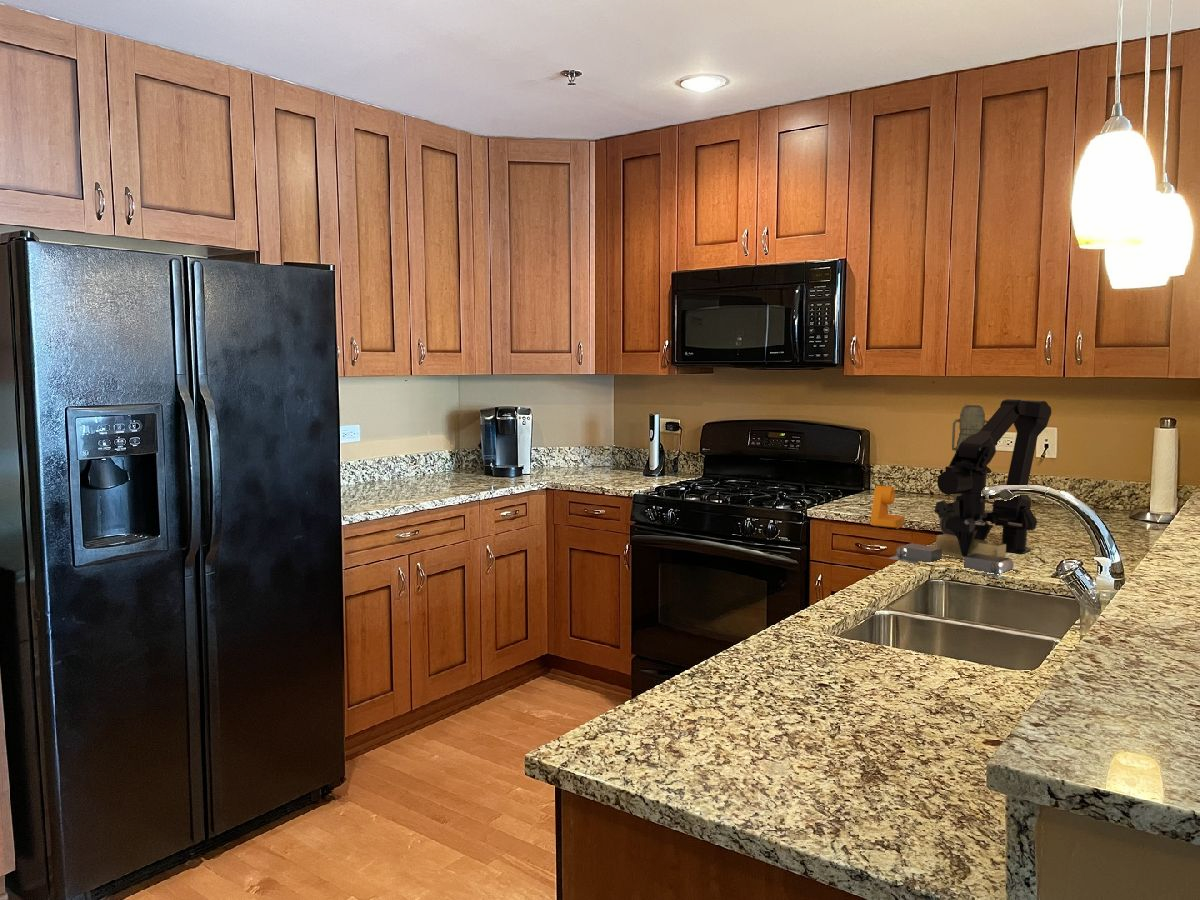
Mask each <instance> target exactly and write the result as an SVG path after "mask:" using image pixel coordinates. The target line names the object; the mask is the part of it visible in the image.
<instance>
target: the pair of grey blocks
mask: <svg viewBox="0 0 1200 900" xmlns="http://www.w3.org/2000/svg"><path fill="white" fill-rule="evenodd" d="M895 554H896V555H893V556H890V557H888V559H889V560H896V561H902V560H904V561H902V562H907V563H912V562H913V564H918V563H917V562H918V561H922V562H934V561H937V560H940V559H942V558H943V555H942V548H939V547H936V546H931V545H925V544H919V543H908V544H904V545H900V546H898V547H897V548H896V550H895ZM963 561H964V568H970V569H975V570H978V571H984V572H989V573H994V574H987V573H977V574H979V575H983V576H991V577H996V578H1003V579H1006V578H1007V577H1004V576H999V575H1000V574H1002V573H1005V572H1007V571H1010V570H1013V571H1018V573H1020V572H1021V570H1019V569H1013V568H1014V566H1015V565H1014V564H1015V563H1014V562H1013V560H1012V559H1011V558H1010V557H1009V558H1008V557H1005V558H1004V557H997V556H991V555H984V554H978V553H974V554H971V555H968V556H965V558H964V559H963ZM1019 571H1020V572H1019ZM961 572H964V571H963V570H962V571H961ZM973 574H975V573H974V572H973ZM997 574H999V575H997Z"/></svg>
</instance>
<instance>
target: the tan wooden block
mask: <svg viewBox="0 0 1200 900" xmlns="http://www.w3.org/2000/svg"><path fill="white" fill-rule="evenodd" d="M935 544H936V545H935V547H939V548H942V554H943V555H949V556H954V557H959V558H965V556H962V553H961V550H960V546H959V542H958V539H957V536H955V535H949V534H943V533H942V534H938V535H936V543H935ZM974 553H978V554H984V555H991V556H997V557H1004V558H1006V556H1007V555H1006V554H1007V551H1006V544H1002V543H1001V542H996V541H990V540H986V539H985V540H979V539H974V540H973V543H972V546H971V548H970V551H969V553H968V555H971V554H974ZM943 555H942V556H943ZM968 555H967V556H968ZM954 557H953V558H954ZM959 558H958V559H959Z"/></svg>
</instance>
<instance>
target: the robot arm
mask: <svg viewBox="0 0 1200 900" xmlns="http://www.w3.org/2000/svg"><path fill="white" fill-rule="evenodd" d="M1051 415H1052V408H1051V406H1050V405H1049V404H1048V402H1047V401H1046V400H1031V399H1029V400H1028V399H1027V400H1025V399H1019V398H1018V399H1015V398H1013V399H1012V398H1005V399H1003V400H1002V401H1001V403H1000V405H999V408H998V409H997V410H996V411H995V413H994V414H992V416H990V418H989V419H988V420H987V421H988V422H987V423H985V424H984V427H983V428H982V429H981V430H980V431H979V432H978V433H976V434H974V435H971V436H969V437H967V438H966V439H965V440H964V441H962V442H961V443H960V445H959V447H958V449H957V451H956V452H955V454H954V455H953V457H952V458H951V461H950V463H949V465H948V466H945V468H944V471H943V472H942V473H941V474H940V475H939V476H938V478H937V479H936V480H937V482H936V483H937V487H938V489H939V491H940V492H941V493H942V494H943V495H946V496H949V495H950V496H951V495H954V494H960V495H959V496H957V497H956V502H954V501H952V502H949V503H948V502H947V501H946V500H940V501H937V502H935V506H934V510H933V511H934V514H937V515H938V519H941V518H943V517H947V516H951V515H953V514H954V516H951V517H948V518H946V519H945V520H944V528H946V529H949V530H950V531H952V532H953V533H954V534H956V536H957V539H958V542H959V546H960V550H961V553H962V556H967V555H968V553H969V551H970V548H971V546H972V543H973V540H974V539H979V540H985V541H986V539H987V536H988V534H990V531H991V530H992V529H993V527H994V526H999V527H1002V538H1001V542H1002V544H1006V553H1014V554H1022V555H1023V554H1026V553H1029V552H1031V551H1032V548H1028V547H1027V539H1028V538H1027V536H1028V531H1034V530H1035V529H1036V527H1037V524H1038V520H1037V518H1036V517H1035V515H1034V513H1033V512H1032V510H1031V506H1032V501H1031V499H1030V496H1029V494H1028V495H1020V496H1017V497H1014V498H1013V499H1011V500H1007V501H1004V500H996V501H993V503H992V510H986V509H985V508H986V502H988V501H989V499H988V500H985V499H983V498H982V496H981V490H982V489H983V488H984V487H986V488H987V475H989V474H991V473H992V469H991V468H989V467H988V465H989V464H990V462H992V460H993V458H994V456H995V455H996V453H997V449H996V447H997V444H998V443H999V441H1000V440H1001V439H1002V438H1003V436H1004V435H1005V434H1006V433H1007V432H1008V430H1009V429H1010V428H1011V427H1012V426H1013V425H1014V428H1015V430H1016V436H1015V441H1014V446H1013V450H1012V455H1011V459H1010V464H1009V468H1008V469H1009V470H1008V474H1007V479H1006V483H1005V486H1006V485H1027V486H1028V485H1029V480H1030V475H1031V471H1032V465H1033V461H1034V456H1035V450H1036V446H1037V443H1038V437H1039V435H1040V434H1041V433H1043V431H1044V430H1045V429H1046V428H1047V426H1048V423H1049V421H1050V418H1051ZM989 522H991V524H989Z"/></svg>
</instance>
